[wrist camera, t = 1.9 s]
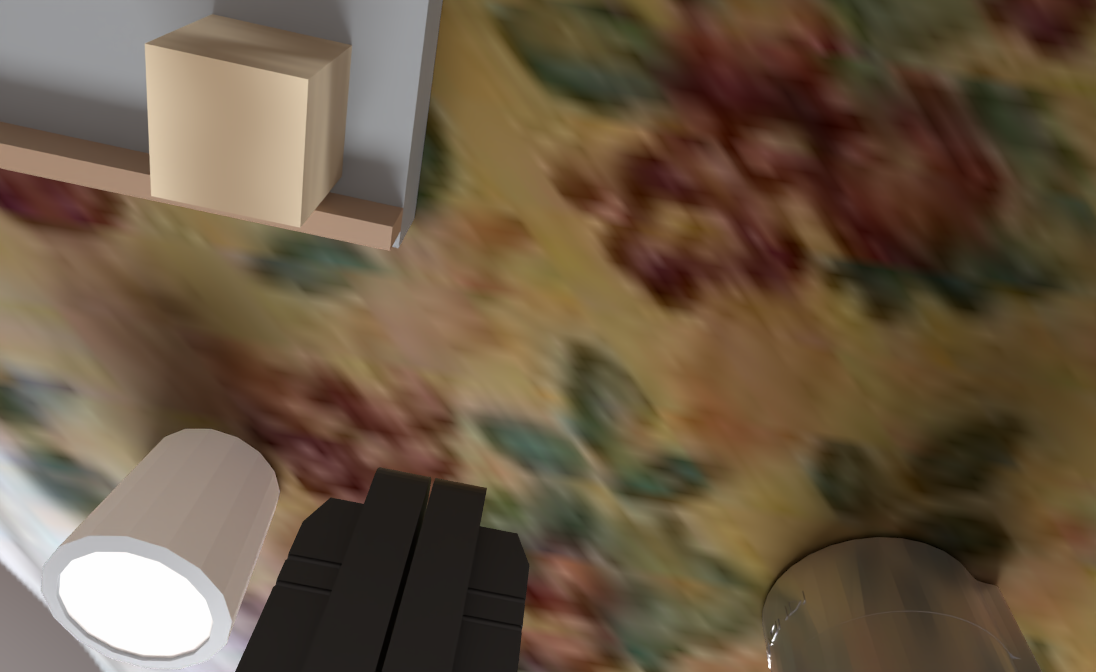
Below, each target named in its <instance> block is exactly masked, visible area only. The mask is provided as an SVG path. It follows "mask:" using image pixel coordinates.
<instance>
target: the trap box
mask: <svg viewBox="0 0 1096 672" xmlns="http://www.w3.org/2000/svg"><path fill="white" fill-rule="evenodd" d="M442 2H443V0H0V168H2V169H7V170H11V171H16V172H21V173H25V174H30V175H35V176H40V177H44V178H49V179H54V180H58V181H63V182H68V183H72V184H77V185H82V186H87V187H91V188H96V189H101V190H105V191H110V192H115V193H120V194H124V195H129V196H134V197H138V198H143V199H148V200H153V201H157V202H162V203H167V204H171V205H176V206H181V207H186V208H190V209H195V210H200V211H204V212H209V213H214V214H219V215H223V216H228V217H233V218H237V219H242V220H247V221H252V222H256V223H261V224H266V225H270V226H275V227H280V228H285V229H289V230H294V231H299V232H303V233H308V234H313V235H318V236H322V237H327V238H332V239H336V240H341V241H346V242H351V243H355V244H360V245H365V246H369V247H374V248H379V249H383V250H388V251H390V250H391V248H392V247H396V248H399V246H400V244H401V242H402V240H403V239H404V237H405V235H406V233H407V231H408V229H409V227H410V225H411V224H412V222H413V220H414V217H415V210H416V202H417V194H418V186H419V179H420V171H421V163H422V156H423V148H424V140H425V133H426V125H427V117H428V109H429V102H430V94H431V86H432V79H433V71H434V63H435V56H436V48H437V40H438V32H439V25H440V17H441V9H442ZM211 14H214V15H219V16H223V17H228V18H232V19H237V20H241V21H246V22H250V23H255V24H259V25H264V26H268V27H273V28H277V29H282V30H286V31H291V32H295V33H300V34H304V35H309V36H313V37H318V38H322V39H327V40H331V41H336V42H340V43H345V44H349V45H352V54H351V66H350V79H349V91H348V104H347V116H346V129H345V141H344V154H343V166H342V177H341V178H340V179H339V180H338V182H337V183H336V184H335V185H334V187H333V188H332V189H331V190H330V192H329V193H328V194H327V195H326V197H325V198H324V199H323V200H322V201H321V203H320V204H319V205H318V206H317V208H316V209H315V210H314V211H313V213H312V214H311V215H310V216H309V218H308V219H307V220H306V221H305V222H304V224H303V225H302V226H301V227H300V228H299V227H295V226H290V225H285V224H280V223H276V222H271V221H266V220H262V219H257V218H252V217H247V216H243V215H238V214H233V213H229V212H224V211H219V210H214V209H210V208H205V207H200V206H196V205H191V204H186V203H182V202H177V201H172V200H167V199H163V198H158V197H153V196H151V179H150V156H149V133H148V109H147V86H146V62H145V43H147V42H149V41H152V40H154V39H156V38H158V37H161V36H163V35H165V34H168V33H170V32H172V31H175V30H177V29H179V28H181V27H184V26H186V25H188V24H191V23H193V22H195V21H198V20H200V19H202V18H205V17H207V16H209V15H211Z"/></svg>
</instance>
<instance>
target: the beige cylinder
mask: <svg viewBox="0 0 1096 672" xmlns="http://www.w3.org/2000/svg"><path fill="white" fill-rule="evenodd" d="M279 494H280V490H279V486H278V482H277V478H276V475H275V471H274V470H273V469H272V467H271V466H270V465H269V463H268V462H267V461H266V460H265V458H264V457H263V456H262V454H261V453H260V452H259V451H257V450H256V449H254V448H253V447H251V446H250V445H248V444H247V443H245V442H244V441H242V440H241V439H239V438H238V437H235V436H232V435H229V434H226V433H223V432H220V431H216V430H213V429H184V430H181V431H178V432H176V433H173V434H171V435H168V436H165V437H164V438H163V439H162V440H161V441H160V442H159V443H158V444H157V445H156V446H155V447H154V448H153V449H152V450H151V451H150V453H149V454H148V455H147V456H146V457H145V458H144V459H143V460H142V461H141V462H140V463H139V464H138V465H137V466H136V467H135V468H134V469H133V470H132V471H131V472H130V473H129V474H128V475H127V476H126V477H125V479H124V480H123V481H122V482H121V483H120V484H119V485H118V486H117V487H116V488H115V489H114V490H113V491H112V492H111V493H110V494H109V495H108V496H107V497H106V498H105V499H104V500H103V501H102V502H101V503H100V505H99V506H98V507H97V508H96V509H95V510H94V511H93V512H92V513H91V514H90V515H89V516H88V517H87V518H86V519H85V520H84V521H83V522H82V523H81V524H80V525H79V526H78V527H77V528H76V529H75V531H74V532H73V533H72V534H71V535H70V536H69V537H68V538H67V539H66V540H65V541H64V542H63V543H62V544H61V545H60V546H59V547H58V548H57V550H56V551H55V552H54V553H53V554H52V555H51V557H50V558H49V559H48V560H47V561H46V562H45V564H44V565H43V567H42V582H41V592H42V594H43V596H44V598H45V600H46V603H47V605H48V607H49V609H50V611H51V613H52V615H53V617H54V618H55V619H56V620H57V621H58V622H59V623H60V624H61V625H62V626H63V627H64V628H65V629H66V630H67V631H68V632H70V633H71V634H72V635H73V636H74V637H75V638H76V639H77V640H78V641H80V642H81V643H83V644H85V645H87V646H89V647H90V648H92V649H94V650H96V651H98V652H99V653H101V654H103V655H105V656H107V657H108V658H110V659H114V660H117V661H121V662H124V663H128V664H131V665H135V666H139V667H142V668H149V669H182V668H186V667H189V666H193V665H196V664H200V663H203V662H206V661H208V660H210V659H211V658H212V657H213V656H214V655H215V654H216V653H217V652H218V651H220V650H221V649H222V648H223V647H224V646H225V645H226V644H227V641H228V638H229V636H230V633H231V630H232V627H233V625H234V622H235V619H236V616H237V614H238V611H239V608H240V605H241V603H242V600H243V597H244V594H245V592H246V589H247V586H248V583H249V581H250V578H251V575H252V572H253V570H254V567H255V564H256V561H257V559H258V556H259V553H260V550H261V548H262V545H263V542H264V539H265V537H266V534H267V531H268V528H269V526H270V523H271V520H272V517H273V515H274V512H275V509H276V505H277V501H278V497H279Z"/></svg>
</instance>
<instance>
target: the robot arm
mask: <svg viewBox="0 0 1096 672" xmlns="http://www.w3.org/2000/svg"><path fill="white" fill-rule="evenodd" d="M430 484H431V477H426V476H421V475H416V474H411V473H406V472H401V471H396V470H391V469H386V468H381V467H379V468H378V469H377V471H376V473H375V476H374V478H373V481H372V484H371V487H370V489H369V492H368V495H367V497H366V500H365V503H364V504H361V503H356V502H351V501H346V500H340V499H335V498H330V499H329V500H327V501H326V502H325V503H324V504H323V505H322V506H320V507H319V508H318V509H317V510H316V511H315V512H314V513H312V514H311V515H310V516H309V517H308V518H307V519H306V520H304V521H303V523H302V525H301V527H300V529H299V531H298V534H297V536H296V538H295V540H294V543H293V545H292V547H291V549H290V551H289V554H288V558H287V560H285V563H284V565H283V567H282V569H281V571H280V574H279V576H278V578H277V582H276V585H275V586H274V587H273V589H272V591H271V594H270V596H269V598H268V600H267V602H266V605H265V607H264V609H263V611H262V613H261V616H260V618H259V620H258V622H257V625H256V627H255V629H254V631H253V633H252V636H251V638H250V640H249V642H248V645H247V647H246V649H245V651H244V653H243V656H242V658H241V660H240V662H239V664H238V667H237V669H236V671H235V672H517V670H518V661H519V653H520V644H521V635H522V633H521V631H522V626H523V617H524V608H525V605H524V604H525V599H526V590H527V581H528V572H529V563H528V560H527V558H526V555H525V553H524V550H523V547H522V545H521V542H520V539H519V537H518V534H517V533H512V532H506V531H501V530H496V529H491V528H486V527H481V526H480V522H481V517H482V511H483V506H484V501H485V496H486V490H487V488H484V487H479V486H474V485H468V484H463V483H458V482H453V481H448V480H443V479H438V478H435V481H434V484H433V487H432V491H431V494H430V498H429V502H428V497H429V491H430ZM427 503H428V505H427ZM762 626H763V631H764V637H765V642H766V649H767V658H768V664H769V669H771V672H1042V671H1041V669H1040V667H1039V665H1038V663H1037V662H1036V660H1035V658H1034V656H1033V654H1032V652H1031V650H1030V648H1029V646H1028V644H1027V642H1026V640H1025V638H1024V636H1023V634H1022V632H1021V630H1020V628H1019V626H1018V624H1017V622H1016V621H1015V619H1014V617H1013V615H1012V613H1011V611H1010V609H1009V607H1008V605H1007V603H1006V601H1005V599H1004V597H1003V595H1002V593H1001V591H1000V589H999V587H998V586H996V585H992V584H987V583H983V582H980V581H977V580H976V579H975V578H974V577H973V576H972V575H971V574H970V573H969V572H968V571H967V570H966V569H965V567H964V566H963V565H962V564H961V563H960V562H959V561H958V560H956V559H955V558H953V557H952V556H950V555H949V554H947V553H946V552H945V551H942V550H940V549H938V548H935V547H933V546H930V545H928V544H925V543H922V542H917V541H912V540H908V539H903V538H885V537H875V538H865V539H855V540H851V541H847V542H843V543H839V544H835V545H831V546H829V547H826V548H824V549H822V550H819V551H817V552H815V553H812V554H810V555H808V556H807V557H805V558H804V559H802V560H800V561H799V562H797V563H796V564H794V565H793V566H791V567H790V568H789V569H788V570H787V571H786V572H785V573H784V574H783V575H782V576H781V577H780V578H779V579H778V580H777V581H776V583H775V584H774V586H773V587H772V589H771V590H770V592H769V593H768V595H767V598H766V601H765V604H764V607H763V619H762Z"/></svg>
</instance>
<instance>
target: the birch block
mask: <svg viewBox="0 0 1096 672" xmlns="http://www.w3.org/2000/svg"><path fill="white" fill-rule="evenodd" d="M351 54H352V45H349V44H345V43H340V42H336V41H331V40H327V39H322V38H318V37H313V36H309V35H304V34H300V33H295V32H291V31H286V30H282V29H277V28H273V27H268V26H264V25H259V24H255V23H250V22H246V21H241V20H237V19H232V18H228V17H223V16H219V15H214V14H211V15H209V16H207V17H205V18H202V19H200V20H198V21H195V22H193V23H191V24H188V25H186V26H184V27H181V28H179V29H177V30H175V31H172V32H170V33H168V34H165V35H163V36H161V37H158V38H156V39H154V40H152V41H149V42H147V43H145V62H146V86H147V109H148V133H149V156H150V179H151V196H153V197H158V198H163V199H167V200H172V201H177V202H182V203H186V204H191V205H196V206H200V207H205V208H210V209H214V210H219V211H224V212H229V213H233V214H238V215H243V216H247V217H252V218H257V219H262V220H266V221H271V222H276V223H280V224H285V225H290V226H295V227H299V228H300V227H301V226H302V225H303V224H304V222H305V221H306V220H307V219H308V218H309V216H310V215H311V214H312V213H313V211H314V210H315V209H316V208H317V206H318V205H319V204H320V203H321V201H322V200H323V199H324V198H325V197H326V195H327V194H328V193H329V192H330V190H331V189H332V188H333V187H334V185H335V184H336V183H337V182H338V180H339V179H340V178H341V177H342V166H343V154H344V141H345V129H346V116H347V104H348V91H349V79H350V66H351Z"/></svg>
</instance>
